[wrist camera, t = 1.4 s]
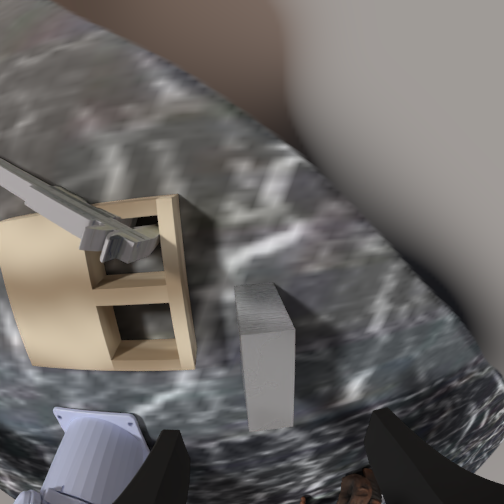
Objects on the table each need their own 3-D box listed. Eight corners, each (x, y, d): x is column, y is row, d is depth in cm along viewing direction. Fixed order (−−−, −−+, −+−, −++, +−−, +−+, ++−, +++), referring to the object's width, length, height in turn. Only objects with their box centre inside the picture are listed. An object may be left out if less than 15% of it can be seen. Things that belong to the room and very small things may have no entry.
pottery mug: (376, 487, 29) (363, 540, 22) (308, 478, 32) (289, 530, 26) (404, 456, 23) (391, 528, 16) (315, 446, 26) (291, 517, 20)
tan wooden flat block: (197, 347, 20) (195, 369, 17) (46, 348, 19) (32, 365, 16) (178, 193, 17) (171, 197, 15) (13, 217, 16) (-8, 224, 14)
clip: (275, 366, 21) (292, 426, 15) (241, 370, 21) (249, 431, 15) (273, 282, 19) (295, 329, 13) (234, 285, 19) (240, 335, 13)
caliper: (167, 224, 17) (141, 252, 11) (160, 241, 18) (132, 277, 12) (-47, 131, 13) (-101, 130, 7) (-51, 144, 14) (-104, 146, 8)
